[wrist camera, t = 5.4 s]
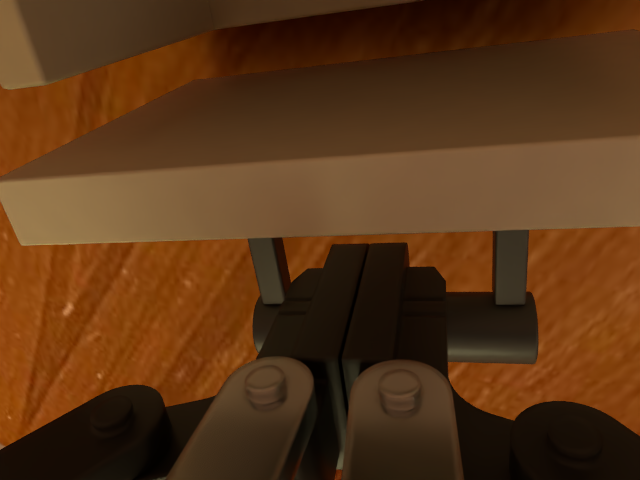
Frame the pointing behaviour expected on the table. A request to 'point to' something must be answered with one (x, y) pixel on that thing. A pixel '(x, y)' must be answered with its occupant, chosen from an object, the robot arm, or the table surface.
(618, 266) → the table surface
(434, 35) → the table surface
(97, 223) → the drawer
